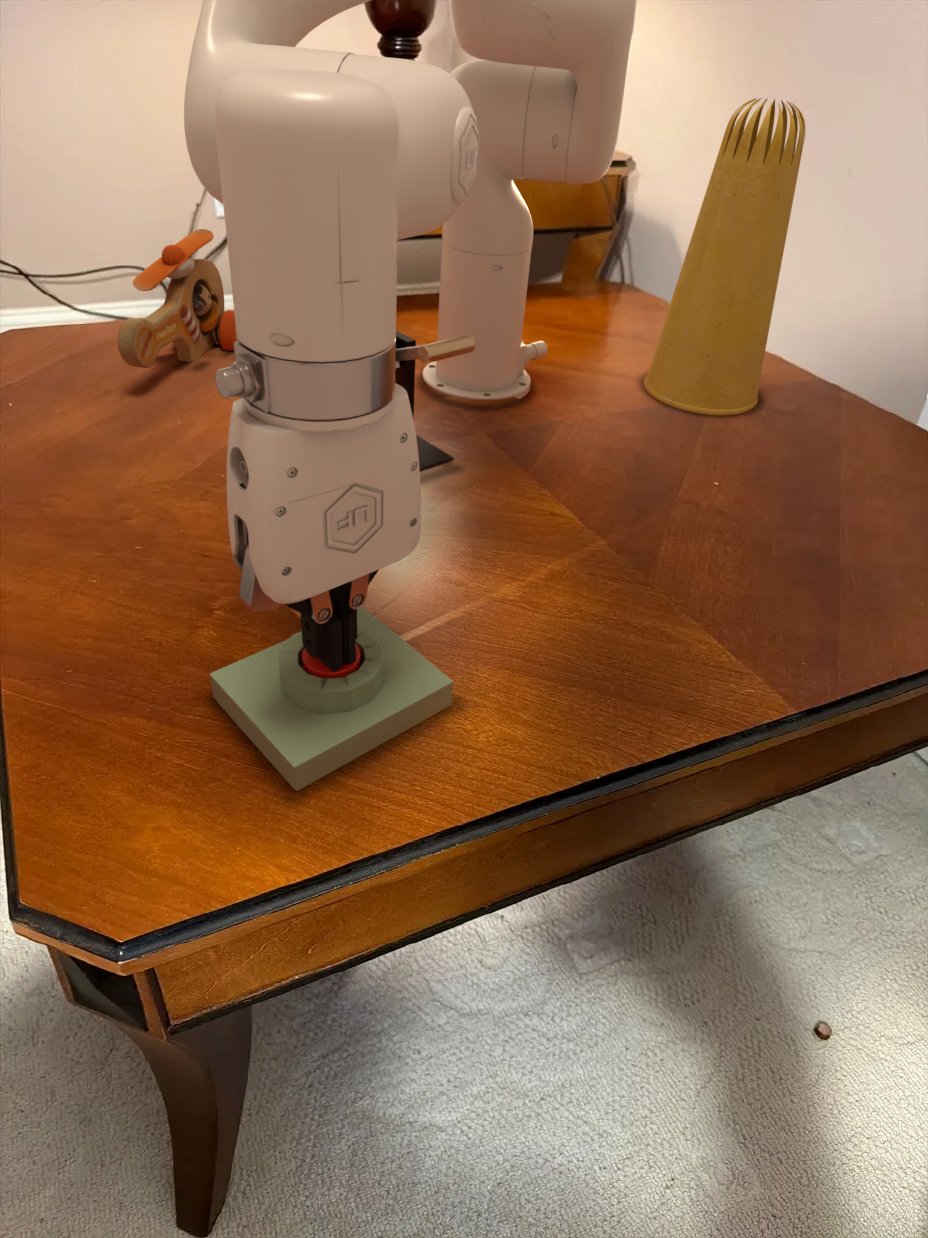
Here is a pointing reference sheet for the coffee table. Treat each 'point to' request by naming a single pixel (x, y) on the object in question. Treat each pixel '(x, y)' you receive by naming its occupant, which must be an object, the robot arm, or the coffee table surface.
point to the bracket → (406, 379)
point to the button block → (330, 701)
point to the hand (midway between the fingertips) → (330, 654)
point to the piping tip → (731, 270)
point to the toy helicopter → (180, 307)
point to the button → (322, 671)
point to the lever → (436, 350)
